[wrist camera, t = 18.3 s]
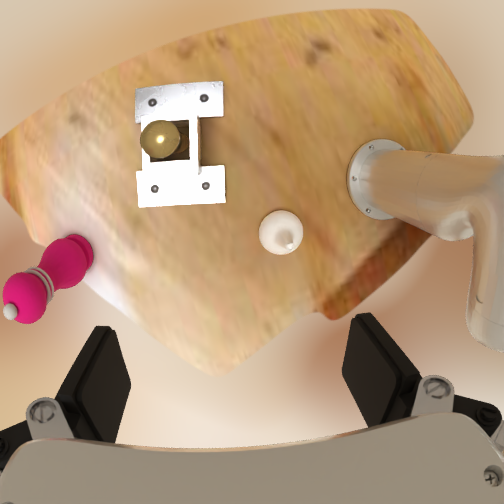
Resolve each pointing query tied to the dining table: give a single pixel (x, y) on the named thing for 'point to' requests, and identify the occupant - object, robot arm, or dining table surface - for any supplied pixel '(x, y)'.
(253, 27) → the dining table surface
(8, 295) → the pepper mill
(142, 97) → the fixed leaf
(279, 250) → the garlic bulb
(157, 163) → the square tube bracket
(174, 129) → the hinge pin
